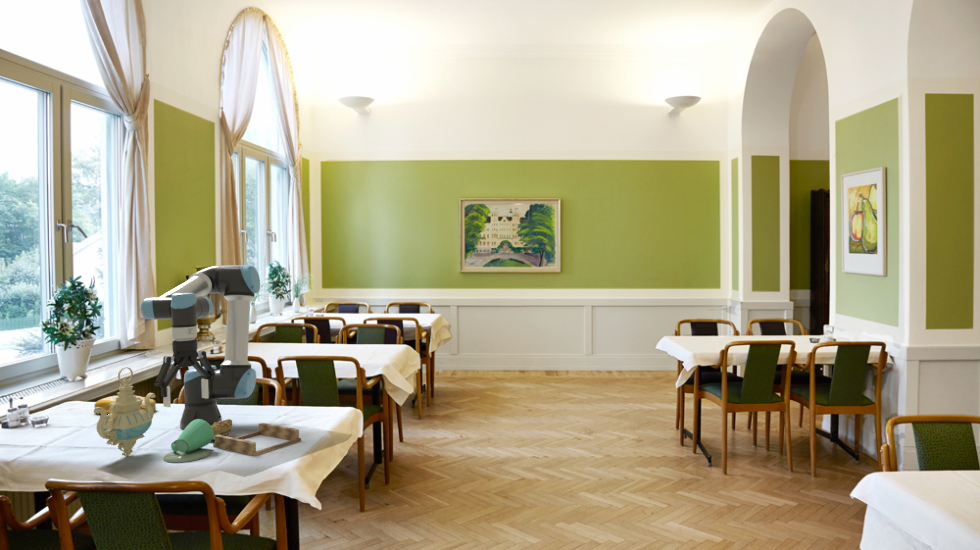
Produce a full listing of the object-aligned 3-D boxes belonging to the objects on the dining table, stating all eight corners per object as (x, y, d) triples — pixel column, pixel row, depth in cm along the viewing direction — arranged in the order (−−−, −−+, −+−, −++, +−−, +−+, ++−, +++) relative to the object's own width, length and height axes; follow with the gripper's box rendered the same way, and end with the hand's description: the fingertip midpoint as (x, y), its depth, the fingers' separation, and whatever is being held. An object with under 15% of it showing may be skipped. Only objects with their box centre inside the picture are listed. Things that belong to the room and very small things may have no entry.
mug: (200, 454, 203) (218, 439, 213) (185, 428, 202) (205, 415, 212) (167, 467, 207) (187, 452, 217) (153, 442, 206) (173, 428, 216)
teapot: (112, 468, 193) (109, 374, 193) (82, 466, 196) (79, 373, 195) (168, 446, 216) (166, 362, 216) (141, 445, 219) (139, 361, 219)
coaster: (154, 458, 203) (154, 456, 203) (194, 447, 215) (194, 445, 215) (180, 465, 196) (179, 463, 196) (219, 453, 208) (219, 451, 208)
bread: (111, 410, 276) (110, 392, 276) (163, 412, 271) (163, 394, 271) (86, 417, 262) (86, 399, 262) (141, 419, 258) (141, 400, 258)
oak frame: (213, 446, 216) (213, 435, 216) (260, 433, 233) (260, 422, 233) (254, 455, 205) (254, 443, 204) (300, 440, 222) (300, 429, 222)
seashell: (208, 443, 228) (218, 417, 233) (229, 447, 229) (239, 421, 233) (200, 437, 220) (211, 411, 225) (223, 442, 220) (233, 415, 225)
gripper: (154, 344, 192) (156, 411, 193) (224, 335, 214) (226, 395, 214) (141, 343, 196) (143, 409, 197) (211, 334, 217) (213, 393, 218)
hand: (186, 402), depth 206 cm, fingers open, 13 cm apart
